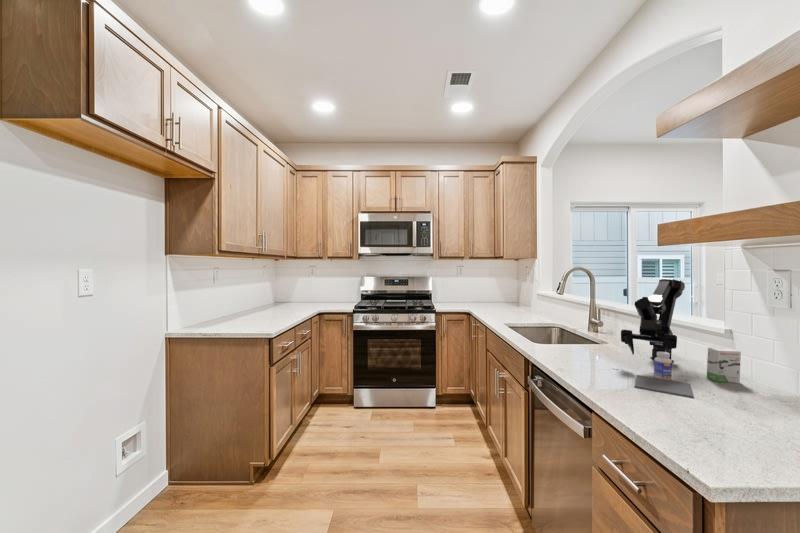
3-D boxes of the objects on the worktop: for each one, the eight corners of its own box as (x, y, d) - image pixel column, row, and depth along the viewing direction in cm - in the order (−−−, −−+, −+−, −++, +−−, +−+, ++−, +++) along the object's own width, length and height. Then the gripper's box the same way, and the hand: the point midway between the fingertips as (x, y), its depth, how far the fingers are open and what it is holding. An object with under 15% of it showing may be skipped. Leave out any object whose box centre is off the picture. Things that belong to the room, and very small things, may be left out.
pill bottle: (665, 381, 134) (666, 354, 134) (650, 376, 139) (651, 351, 139) (674, 379, 136) (675, 353, 136) (659, 375, 141) (660, 350, 141)
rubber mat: (636, 376, 140) (636, 374, 140) (690, 385, 130) (690, 383, 130) (634, 387, 127) (634, 385, 127) (693, 398, 117) (693, 396, 117)
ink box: (716, 382, 134) (717, 350, 134) (705, 377, 139) (706, 346, 139) (740, 382, 134) (741, 350, 134) (729, 378, 139) (730, 347, 139)
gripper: (621, 310, 153) (618, 340, 144) (677, 314, 143) (677, 347, 134) (622, 326, 160) (619, 356, 151) (676, 332, 149) (676, 364, 140)
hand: (647, 356), depth 144 cm, fingers open, 9 cm apart
